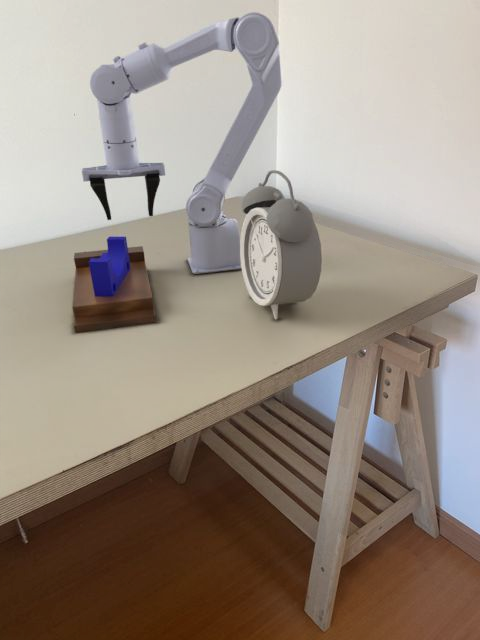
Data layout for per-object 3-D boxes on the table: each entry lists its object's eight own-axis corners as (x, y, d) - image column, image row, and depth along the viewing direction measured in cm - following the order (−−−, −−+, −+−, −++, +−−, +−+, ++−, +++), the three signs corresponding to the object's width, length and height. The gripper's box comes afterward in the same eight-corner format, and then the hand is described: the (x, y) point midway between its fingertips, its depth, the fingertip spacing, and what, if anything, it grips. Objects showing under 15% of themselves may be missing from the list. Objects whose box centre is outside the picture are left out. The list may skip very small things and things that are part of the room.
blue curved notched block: (106, 268, 102) (100, 236, 99) (130, 268, 101) (126, 236, 98) (85, 296, 91) (79, 261, 88) (113, 296, 91) (107, 261, 88)
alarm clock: (237, 291, 99) (231, 163, 88) (281, 282, 102) (281, 158, 91) (275, 331, 86) (274, 187, 75) (325, 320, 89) (331, 180, 78)
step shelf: (145, 269, 109) (142, 246, 106) (156, 322, 89) (152, 294, 87) (79, 276, 106) (74, 252, 104) (75, 332, 87) (69, 304, 84)
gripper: (76, 147, 94) (90, 226, 101) (163, 142, 97) (171, 219, 104) (77, 140, 100) (90, 215, 107) (159, 135, 103) (167, 208, 110)
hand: (130, 216), depth 106 cm, fingers open, 7 cm apart
